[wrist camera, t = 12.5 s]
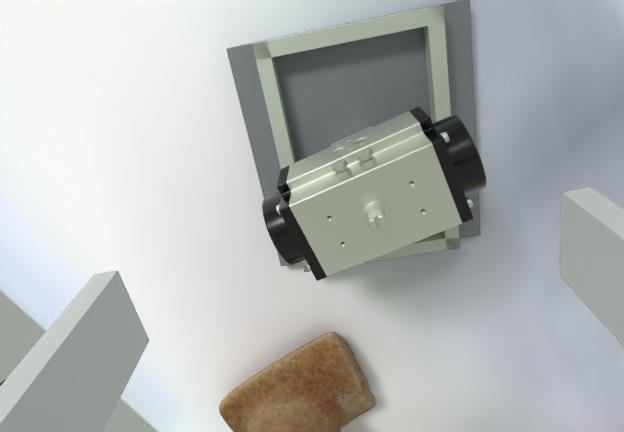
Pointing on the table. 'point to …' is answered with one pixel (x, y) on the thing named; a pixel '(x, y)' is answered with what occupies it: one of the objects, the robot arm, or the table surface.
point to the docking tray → (357, 91)
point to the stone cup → (301, 392)
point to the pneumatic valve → (374, 192)
